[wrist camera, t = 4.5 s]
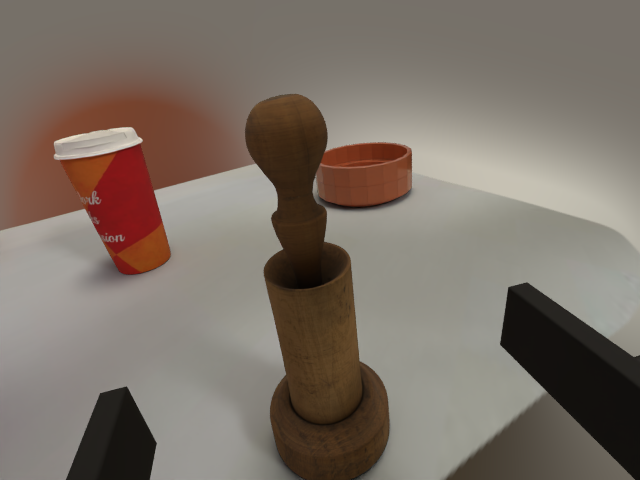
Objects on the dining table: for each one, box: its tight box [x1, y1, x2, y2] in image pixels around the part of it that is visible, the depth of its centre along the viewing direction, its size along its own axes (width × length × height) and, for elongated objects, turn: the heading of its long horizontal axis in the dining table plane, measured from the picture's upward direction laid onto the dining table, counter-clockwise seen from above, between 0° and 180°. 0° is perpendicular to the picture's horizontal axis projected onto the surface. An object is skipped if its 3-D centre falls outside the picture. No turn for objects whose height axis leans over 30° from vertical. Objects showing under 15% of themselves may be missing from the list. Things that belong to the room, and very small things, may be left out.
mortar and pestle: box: [245, 94, 389, 480], centre depth 17 cm, size 7×6×18 cm
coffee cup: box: [54, 127, 171, 274], centre depth 39 cm, size 8×8×15 cm
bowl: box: [315, 142, 412, 207], centre depth 54 cm, size 14×14×6 cm
